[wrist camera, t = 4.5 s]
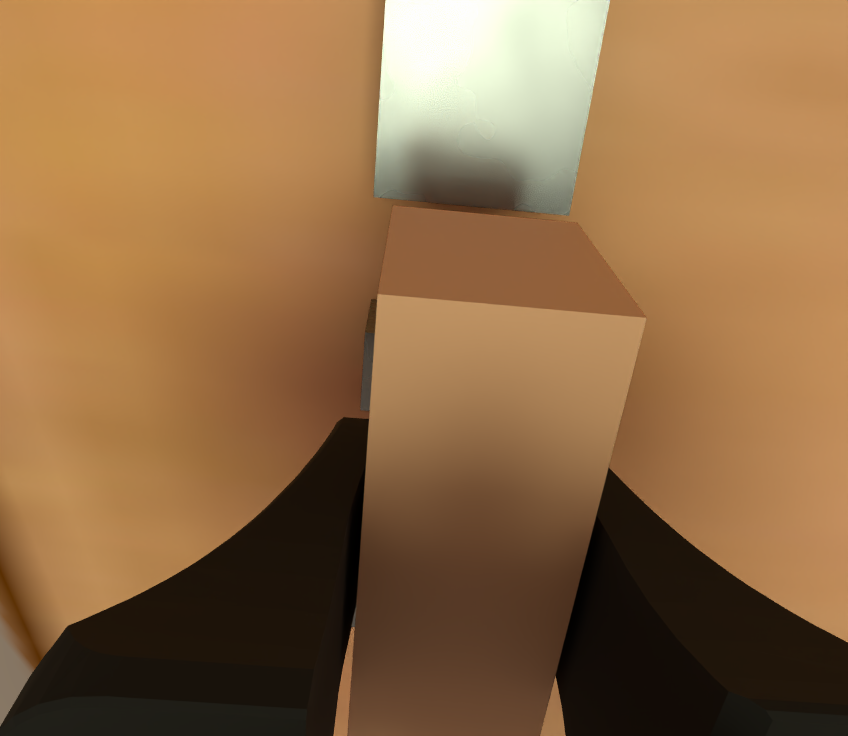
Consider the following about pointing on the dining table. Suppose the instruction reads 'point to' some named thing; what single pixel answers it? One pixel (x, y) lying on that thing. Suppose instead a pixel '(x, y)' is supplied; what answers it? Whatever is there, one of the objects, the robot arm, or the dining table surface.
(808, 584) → the dining table surface
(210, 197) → the dining table surface
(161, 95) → the dining table surface
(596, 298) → the tan rectangular block
